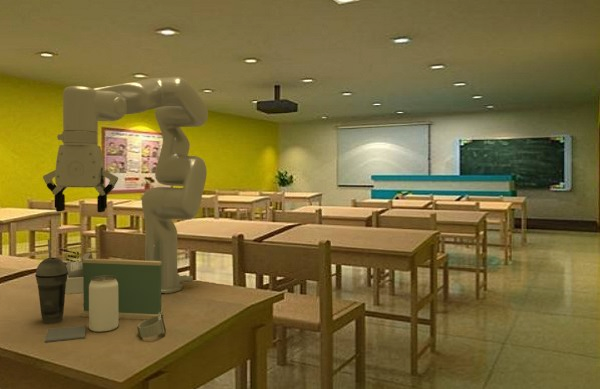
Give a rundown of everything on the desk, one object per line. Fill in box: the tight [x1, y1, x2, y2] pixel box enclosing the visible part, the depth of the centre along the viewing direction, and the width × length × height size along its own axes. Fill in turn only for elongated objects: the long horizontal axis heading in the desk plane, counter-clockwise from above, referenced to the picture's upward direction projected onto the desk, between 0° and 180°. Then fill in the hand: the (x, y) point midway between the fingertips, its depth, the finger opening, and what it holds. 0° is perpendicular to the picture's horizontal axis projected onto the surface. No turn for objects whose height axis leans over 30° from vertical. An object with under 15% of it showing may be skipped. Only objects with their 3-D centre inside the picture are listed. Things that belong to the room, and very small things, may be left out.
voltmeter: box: [59, 248, 94, 278], centre depth 161 cm, size 27×11×10 cm, turn 52°
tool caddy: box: [64, 260, 84, 295], centre depth 162 cm, size 16×28×4 cm, turn 22°
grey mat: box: [44, 325, 87, 343], centre depth 114 cm, size 8×8×1 cm
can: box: [88, 275, 119, 333], centre depth 118 cm, size 6×6×12 cm
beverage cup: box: [35, 238, 68, 324], centre depth 123 cm, size 7×7×20 cm
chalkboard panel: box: [80, 258, 164, 320], centre depth 128 cm, size 20×4×14 cm, turn 85°
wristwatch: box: [136, 312, 167, 339], centre depth 115 cm, size 9×6×5 cm
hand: (80, 211), depth 120 cm, fingers open, 9 cm apart
